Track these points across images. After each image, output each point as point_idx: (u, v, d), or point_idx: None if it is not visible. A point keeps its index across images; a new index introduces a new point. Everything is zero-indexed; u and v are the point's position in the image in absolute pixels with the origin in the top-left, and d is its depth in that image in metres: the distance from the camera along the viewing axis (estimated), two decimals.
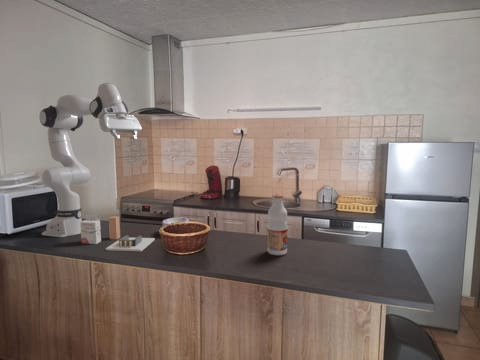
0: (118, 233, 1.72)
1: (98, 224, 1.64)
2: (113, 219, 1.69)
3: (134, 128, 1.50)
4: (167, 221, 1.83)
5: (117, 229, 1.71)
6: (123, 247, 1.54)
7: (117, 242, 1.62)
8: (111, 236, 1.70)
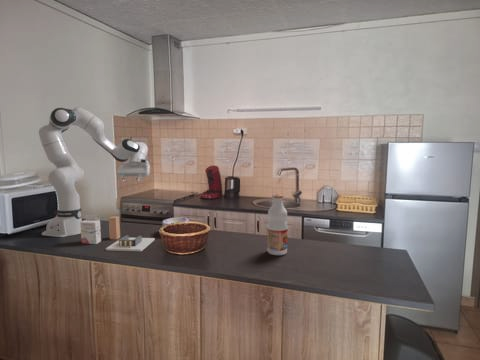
0: (118, 233, 1.72)
1: (98, 224, 1.64)
2: (113, 219, 1.69)
3: None
4: (167, 221, 1.83)
5: (117, 229, 1.71)
6: (123, 247, 1.54)
7: (117, 242, 1.62)
8: (111, 236, 1.70)
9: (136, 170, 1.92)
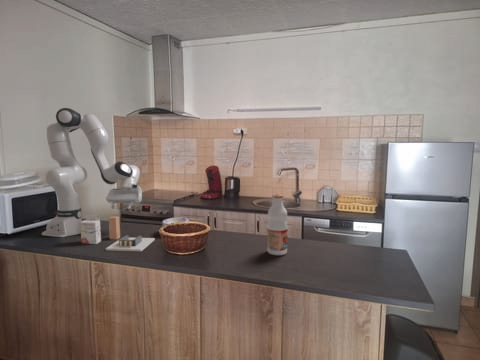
0: (118, 233, 1.72)
1: (98, 224, 1.64)
2: (113, 219, 1.69)
3: None
4: (167, 221, 1.83)
5: (117, 229, 1.71)
6: (123, 247, 1.54)
7: (117, 242, 1.62)
8: (111, 236, 1.70)
9: (127, 196, 1.81)
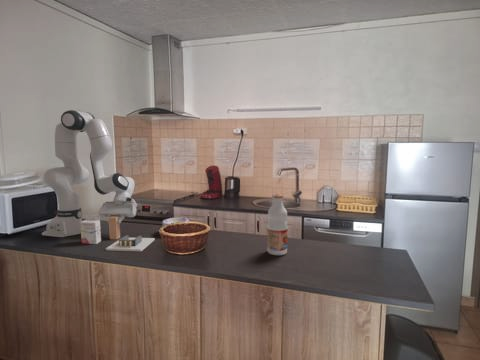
0: (118, 233, 1.72)
1: (98, 224, 1.64)
2: (113, 219, 1.69)
3: None
4: (167, 221, 1.83)
5: (117, 229, 1.71)
6: (123, 247, 1.54)
7: (117, 242, 1.62)
8: (111, 236, 1.70)
9: (121, 210, 1.73)
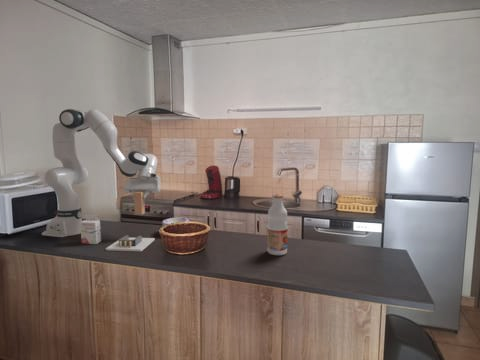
0: (143, 208, 1.71)
1: (98, 224, 1.64)
2: (138, 194, 1.68)
3: None
4: (167, 221, 1.83)
5: (142, 204, 1.70)
6: (123, 247, 1.54)
7: (117, 242, 1.62)
8: (136, 211, 1.69)
9: (145, 185, 1.72)
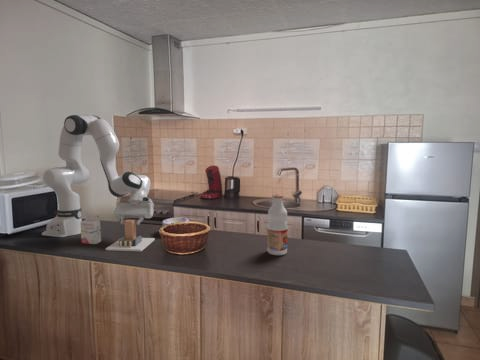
0: (134, 237, 1.61)
1: (98, 224, 1.64)
2: (129, 222, 1.57)
3: None
4: (167, 221, 1.83)
5: (133, 233, 1.60)
6: (123, 247, 1.54)
7: (117, 242, 1.62)
8: None
9: (137, 210, 1.62)
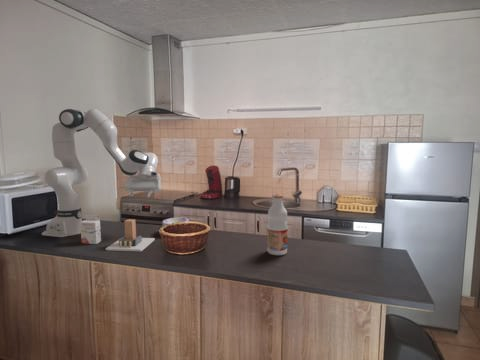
0: (134, 237, 1.61)
1: (98, 224, 1.64)
2: (129, 222, 1.57)
3: None
4: (167, 221, 1.83)
5: (133, 233, 1.60)
6: (123, 247, 1.54)
7: (117, 242, 1.62)
8: None
9: (146, 184, 1.73)
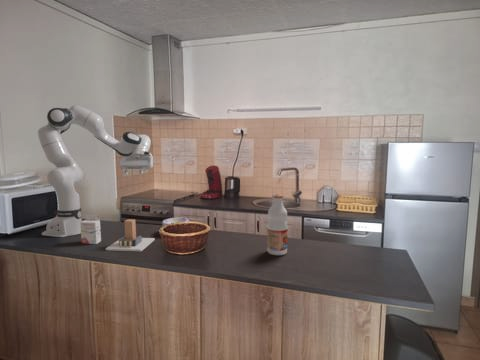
0: (134, 237, 1.61)
1: (98, 224, 1.64)
2: (129, 222, 1.57)
3: None
4: (167, 221, 1.83)
5: (133, 233, 1.60)
6: (123, 247, 1.54)
7: (117, 242, 1.62)
8: None
9: (139, 162, 1.87)
